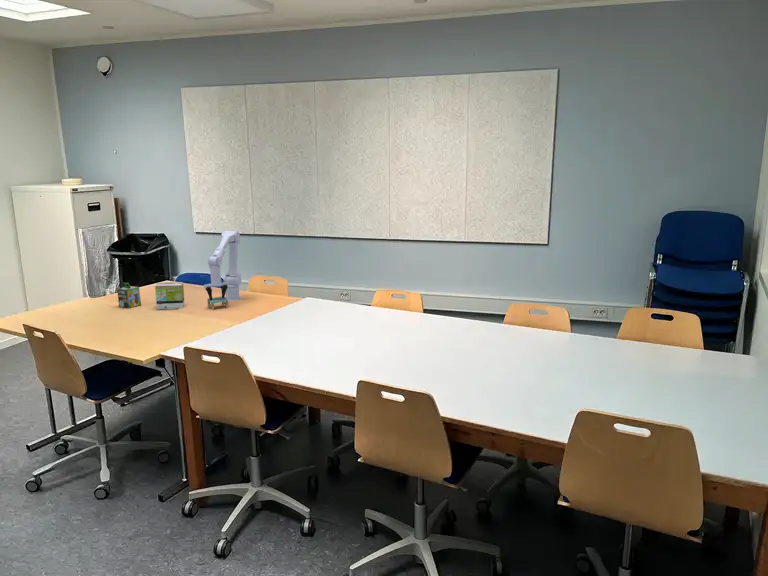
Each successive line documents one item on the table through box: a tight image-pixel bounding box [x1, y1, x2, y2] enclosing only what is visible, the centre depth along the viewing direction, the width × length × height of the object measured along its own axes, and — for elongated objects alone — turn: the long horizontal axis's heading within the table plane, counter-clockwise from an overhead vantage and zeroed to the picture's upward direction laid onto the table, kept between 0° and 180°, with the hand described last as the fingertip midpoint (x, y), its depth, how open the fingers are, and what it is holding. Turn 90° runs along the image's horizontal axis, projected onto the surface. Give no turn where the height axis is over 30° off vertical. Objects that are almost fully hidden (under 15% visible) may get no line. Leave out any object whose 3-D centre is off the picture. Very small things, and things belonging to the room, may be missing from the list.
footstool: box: [206, 295, 229, 311], centre depth 338 cm, size 7×10×5 cm
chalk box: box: [116, 282, 142, 309], centre depth 341 cm, size 9×9×15 cm
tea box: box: [154, 281, 185, 310], centre depth 339 cm, size 15×10×15 cm, turn 104°
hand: (217, 298), depth 338 cm, fingers open, 7 cm apart
